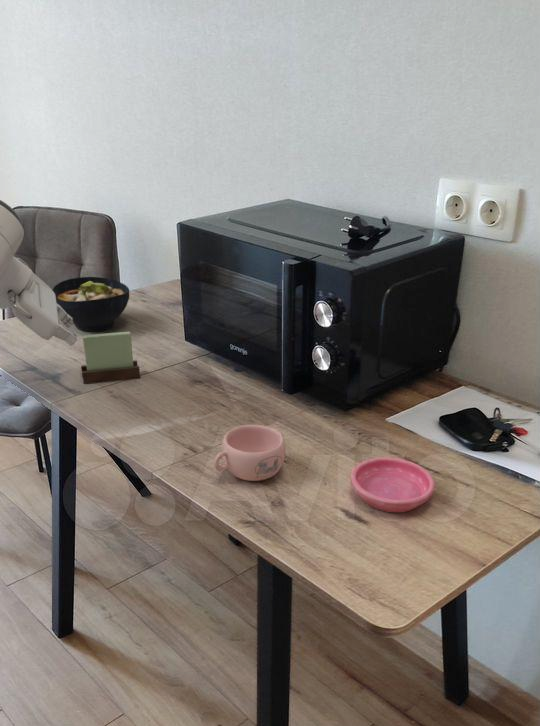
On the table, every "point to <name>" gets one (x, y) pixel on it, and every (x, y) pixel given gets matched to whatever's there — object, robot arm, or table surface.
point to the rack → (110, 374)
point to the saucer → (392, 484)
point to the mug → (252, 452)
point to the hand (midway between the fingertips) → (73, 332)
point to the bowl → (92, 301)
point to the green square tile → (108, 350)
